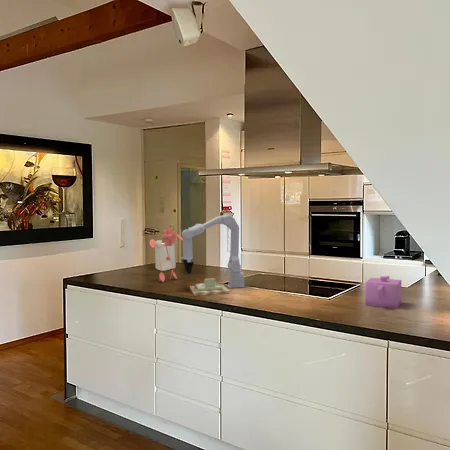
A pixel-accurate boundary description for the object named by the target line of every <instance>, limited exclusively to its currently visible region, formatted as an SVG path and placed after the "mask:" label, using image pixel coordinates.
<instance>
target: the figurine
mask: <svg viewBox="0 0 450 450" xmlns="http://www.w3.org/2000/svg"><path fill="white" fill-rule="evenodd" d="M176 232H177V231H176V230H174V229H173V227H168V228H166V229H164V230H163V231H162V233H163V235H162V236H161V238H162V239H161V240H162V243H165V244H164V245H165V246H166V249H167V246H168V245H169V246H171V245H172V244H174V243H175V244H176V240H175V239H176V238H178V239H179V240H181V241H182V242H183V237H182V235H180V234H178V233H176ZM155 241H156V240H155V239H154V238H151V239H150V240H149V245H150V246H149V247H150V248H152V249H155V245H156V242H155ZM164 245H162V246H164ZM156 246H157V245H156ZM162 246H160V247H162ZM160 247H158V246H157V248H160ZM167 253H168V249H167ZM166 260H168V261H169V260H171V259H170V257H169V255H168V257H166ZM166 260H165V261H166ZM171 261H172V260H171ZM163 262H164V261H163ZM161 263H162V262H161ZM161 263H160V266H161ZM170 272H171V274H170V277H169V280H171V279H172V276H173V277H174V279H176V280H178V277H177V275H176V273H175V272H174V269H173V262H172V269H171V271H170ZM165 279H166V276H165V273H163V271H162V269H161V272H159V281H158V282H162V283H164V281H165ZM181 282H183V281H180V283H181ZM176 283H177V284H178V283H179V281H178V282H175V284H176Z"/></svg>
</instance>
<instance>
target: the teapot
mask: <svg viewBox="0 0 450 450" xmlns="http://www.w3.org/2000/svg"><path fill="white" fill-rule="evenodd" d="M364 298H365V306H367V307H369V306H370V307H379V308H388V309H389V308H390V309H398V308H399V307H400V305H401V304H402V280H401V279H394V278H393V279H392V278H391V279H390V275H386V276H383V275H380V276H379V277H370V278H369V279H368V280H367V281H365V297H364Z"/></svg>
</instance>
